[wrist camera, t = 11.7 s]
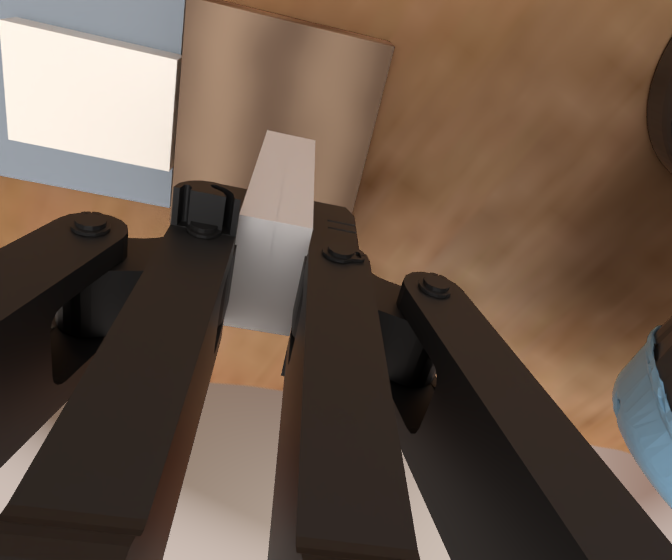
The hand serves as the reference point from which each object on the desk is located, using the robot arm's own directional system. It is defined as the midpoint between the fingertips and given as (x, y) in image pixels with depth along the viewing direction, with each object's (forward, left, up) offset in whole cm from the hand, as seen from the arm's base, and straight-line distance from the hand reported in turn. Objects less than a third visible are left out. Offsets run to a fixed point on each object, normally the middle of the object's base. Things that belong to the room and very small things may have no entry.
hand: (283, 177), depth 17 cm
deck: (+1, +4, -20) cm, 21 cm away
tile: (+12, +4, -20) cm, 24 cm away
